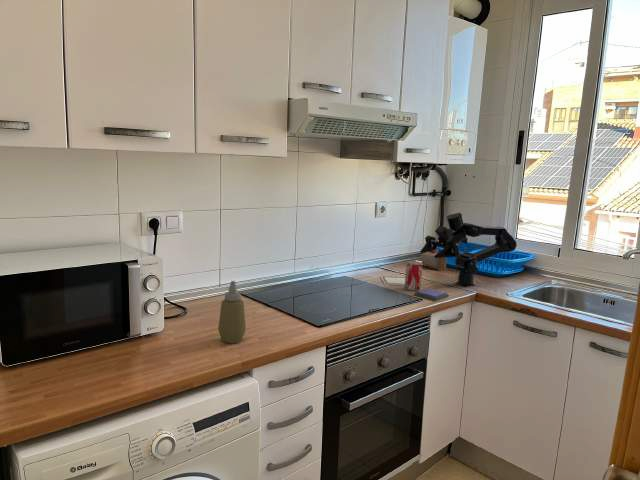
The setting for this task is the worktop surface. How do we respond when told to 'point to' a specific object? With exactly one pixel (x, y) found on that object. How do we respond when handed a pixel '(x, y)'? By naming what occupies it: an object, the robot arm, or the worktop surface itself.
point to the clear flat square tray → (393, 280)
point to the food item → (433, 260)
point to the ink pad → (431, 294)
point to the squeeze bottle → (232, 316)
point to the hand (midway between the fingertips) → (427, 254)
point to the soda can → (413, 275)
